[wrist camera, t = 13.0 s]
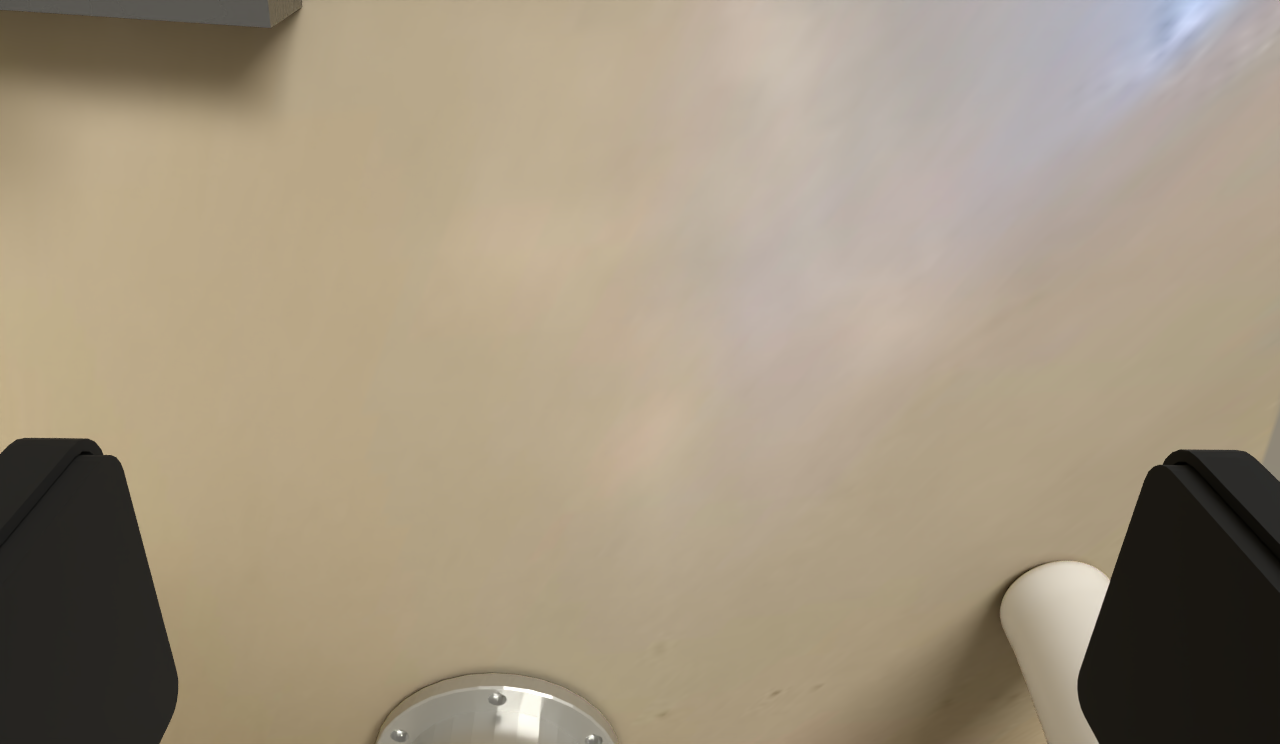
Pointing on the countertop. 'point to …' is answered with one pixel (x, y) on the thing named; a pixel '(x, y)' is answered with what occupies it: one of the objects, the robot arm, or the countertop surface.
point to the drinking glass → (1054, 640)
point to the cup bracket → (169, 10)
